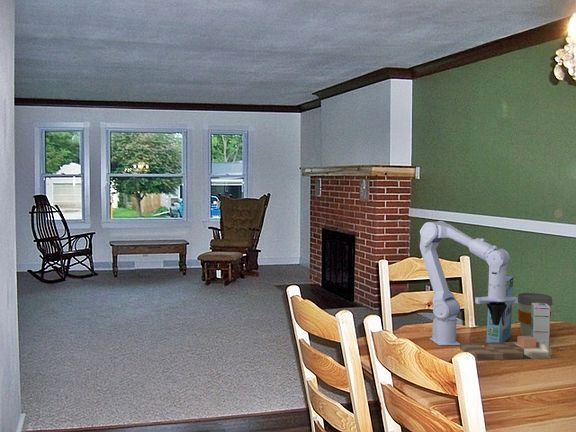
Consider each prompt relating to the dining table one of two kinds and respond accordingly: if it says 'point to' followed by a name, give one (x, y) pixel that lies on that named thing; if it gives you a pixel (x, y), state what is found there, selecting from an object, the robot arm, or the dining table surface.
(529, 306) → the reusable coffee cup
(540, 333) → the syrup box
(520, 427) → the dining table surface
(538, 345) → the board
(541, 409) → the dining table surface
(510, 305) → the gum box
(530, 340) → the block
